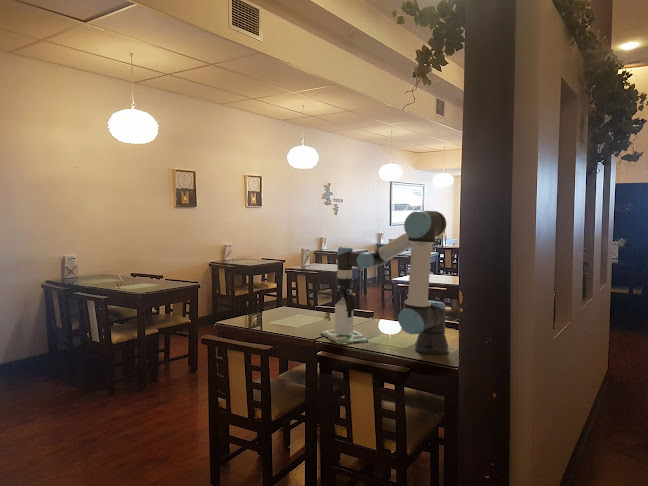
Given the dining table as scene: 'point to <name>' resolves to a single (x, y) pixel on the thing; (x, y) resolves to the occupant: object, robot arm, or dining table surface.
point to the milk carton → (342, 319)
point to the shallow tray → (344, 337)
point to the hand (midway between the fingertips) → (343, 321)
